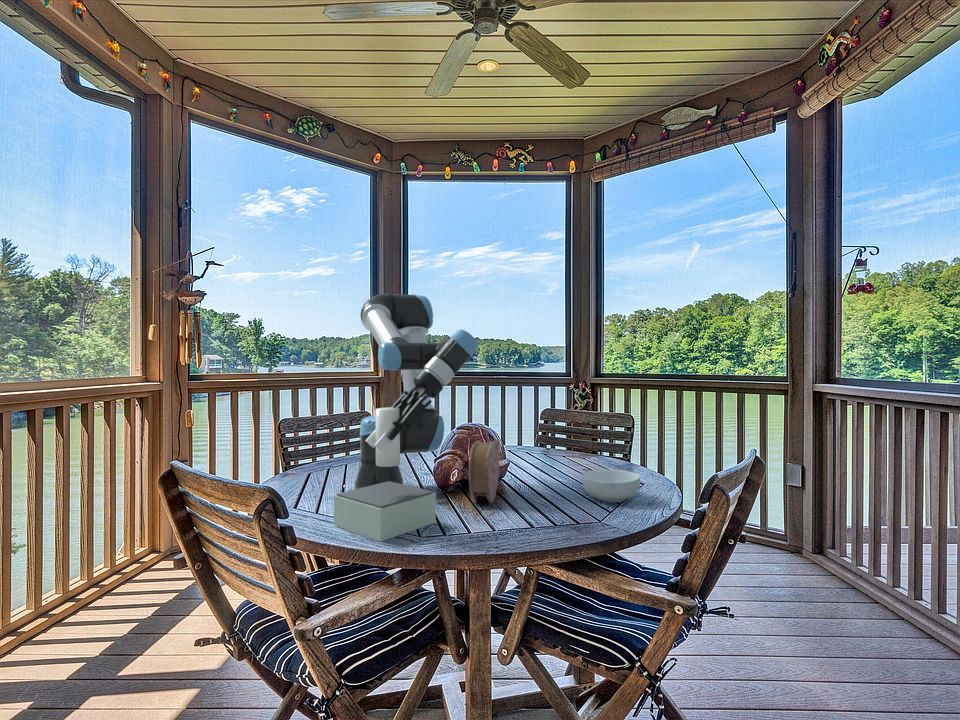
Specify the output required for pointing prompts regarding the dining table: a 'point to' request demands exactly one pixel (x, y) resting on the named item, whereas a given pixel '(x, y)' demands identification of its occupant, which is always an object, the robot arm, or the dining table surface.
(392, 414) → the post
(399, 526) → the block
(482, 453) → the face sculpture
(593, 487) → the cereal bowl
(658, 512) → the dining table surface
